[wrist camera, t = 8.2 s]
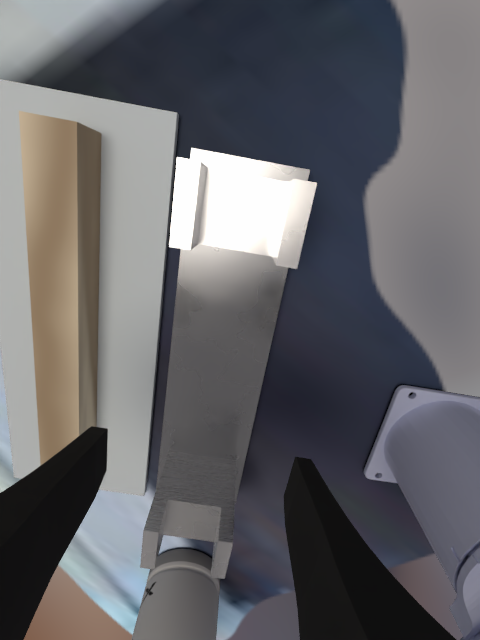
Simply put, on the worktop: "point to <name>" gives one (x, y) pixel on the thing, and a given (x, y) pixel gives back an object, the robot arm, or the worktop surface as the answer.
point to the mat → (114, 273)
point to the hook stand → (221, 335)
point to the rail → (62, 272)
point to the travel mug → (179, 599)
